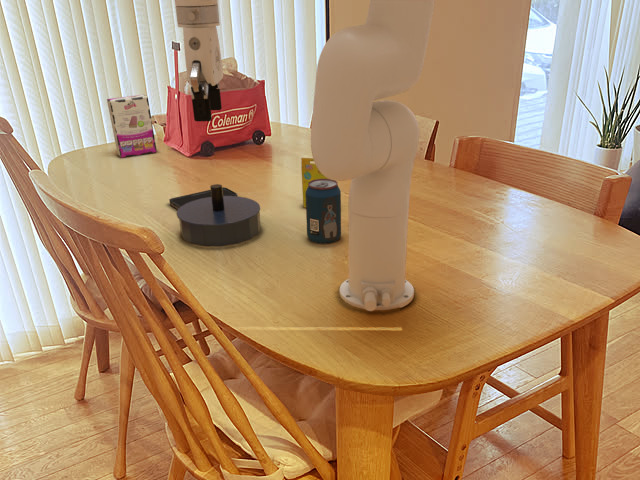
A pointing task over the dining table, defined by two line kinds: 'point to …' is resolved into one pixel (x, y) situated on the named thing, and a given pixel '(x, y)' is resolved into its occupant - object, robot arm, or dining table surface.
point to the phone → (196, 197)
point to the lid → (218, 209)
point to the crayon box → (309, 175)
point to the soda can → (323, 211)
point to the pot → (221, 233)
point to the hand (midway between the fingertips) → (208, 115)
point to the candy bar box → (132, 125)
